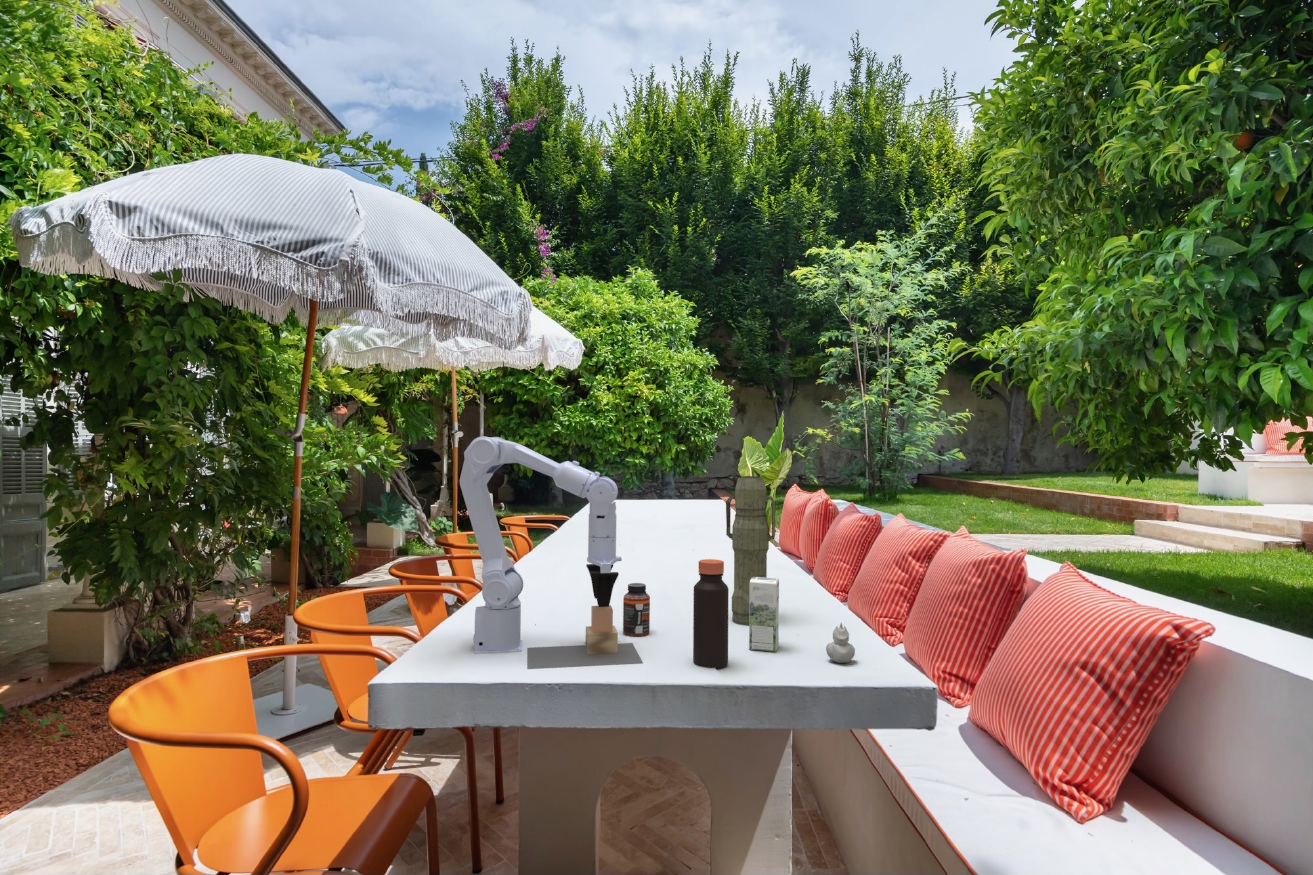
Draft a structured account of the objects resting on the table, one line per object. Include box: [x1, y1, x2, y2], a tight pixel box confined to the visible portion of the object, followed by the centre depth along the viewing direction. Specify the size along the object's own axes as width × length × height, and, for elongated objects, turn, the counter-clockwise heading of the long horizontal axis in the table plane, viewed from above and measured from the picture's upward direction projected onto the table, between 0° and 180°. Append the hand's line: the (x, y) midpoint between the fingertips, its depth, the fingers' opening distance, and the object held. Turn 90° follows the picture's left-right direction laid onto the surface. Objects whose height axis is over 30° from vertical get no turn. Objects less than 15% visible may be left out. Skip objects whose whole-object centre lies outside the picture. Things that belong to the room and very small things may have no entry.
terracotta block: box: [590, 604, 614, 633], centre depth 145 cm, size 4×4×4 cm
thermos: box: [725, 475, 776, 627], centre depth 170 cm, size 9×12×35 cm
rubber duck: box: [825, 622, 856, 664], centre depth 139 cm, size 5×7×8 cm
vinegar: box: [692, 558, 729, 670], centre depth 137 cm, size 7×7×20 cm
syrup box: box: [748, 577, 780, 653], centre depth 148 cm, size 6×6×14 cm
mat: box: [526, 642, 644, 670], centre depth 140 cm, size 22×14×1 cm, turn 100°
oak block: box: [585, 624, 619, 654], centre depth 145 cm, size 6×6×4 cm
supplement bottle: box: [622, 582, 651, 638], centre depth 157 cm, size 6×6×11 cm
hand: (601, 602), depth 145 cm, fingers open, 7 cm apart
